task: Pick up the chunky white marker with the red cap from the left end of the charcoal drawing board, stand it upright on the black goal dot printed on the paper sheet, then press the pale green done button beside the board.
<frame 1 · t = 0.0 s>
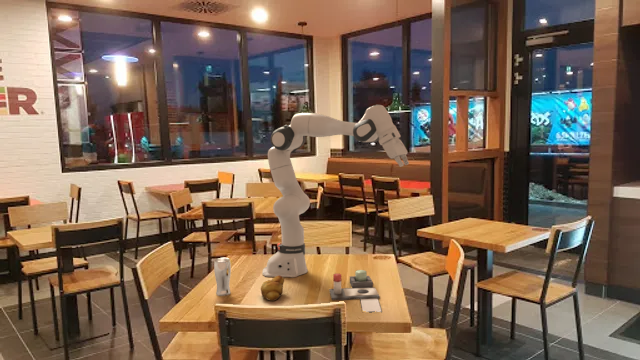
hand: (404, 165, 199), 54 cm above the table, tool tilted 30°, fingers open, 8 cm apart
button base: (361, 285, 205), on the table
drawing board: (353, 294, 194), on the table
marker: (337, 293, 193), point 1 cm above the table, touching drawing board
bread roll: (271, 297, 193), on the table
smartphone: (370, 306, 183), on the table
beer glass: (223, 294, 197), on the table
done button: (361, 275, 205), point 4 cm above the table, slide at 0.0 cm
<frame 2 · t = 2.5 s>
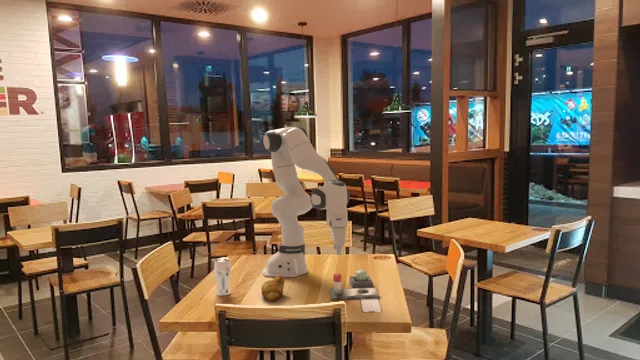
hand: (337, 251, 192), 19 cm above the table, tool pointing down, fingers open, 8 cm apart
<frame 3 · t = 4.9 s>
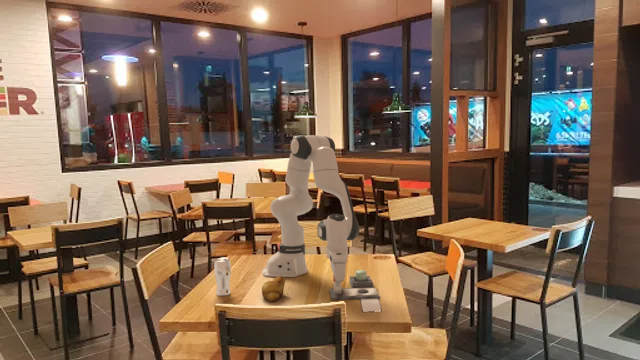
hand: (337, 284, 193), 5 cm above the table, tool pointing down, fingers closed on marker, 3 cm apart
marker: (337, 293, 193), point 1 cm above the table, touching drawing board, gripper
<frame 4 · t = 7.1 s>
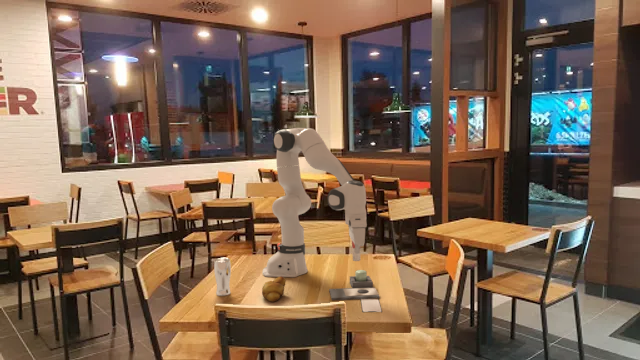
hand: (356, 251, 192), 19 cm above the table, tool pointing down, fingers closed on marker, 3 cm apart
marker: (356, 260, 192), point 15 cm above the table, touching gripper
when the fingers open (6 cm above the table, at t = 9.5 s): marker stays where it is, resting on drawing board.
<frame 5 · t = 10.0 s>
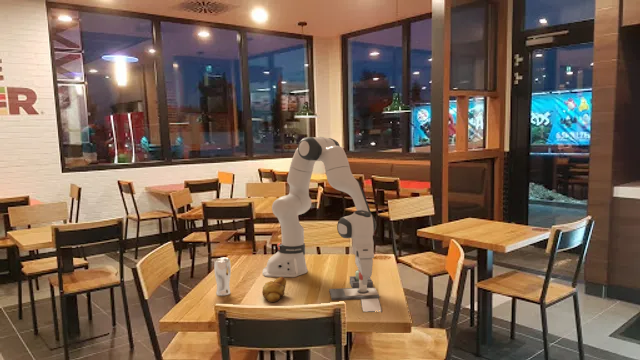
hand: (363, 280, 194), 6 cm above the table, tool pointing down, fingers open, 8 cm apart
marker: (363, 291, 194), point 1 cm above the table, touching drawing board
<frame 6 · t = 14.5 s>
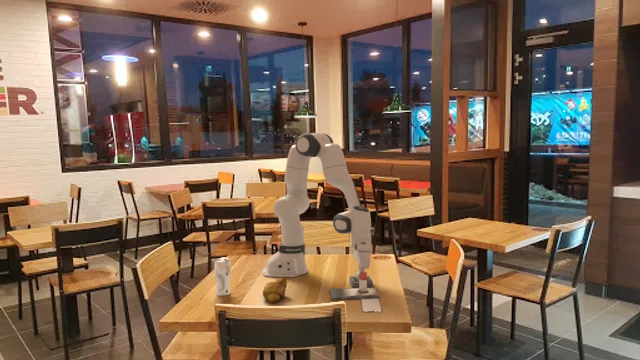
hand: (361, 272, 205), 6 cm above the table, tool pointing down, fingers closed, pressing on done button
done button: (361, 277, 205), point 4 cm above the table, slide at 0.6 cm, touching gripper
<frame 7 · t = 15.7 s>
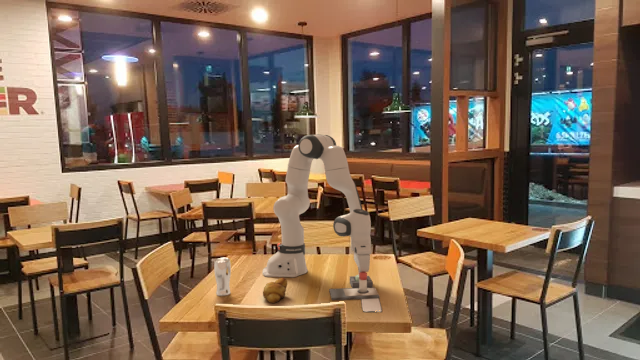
hand: (361, 275, 205), 5 cm above the table, tool pointing down, fingers closed
done button: (361, 280, 205), point 2 cm above the table, slide at 2.1 cm
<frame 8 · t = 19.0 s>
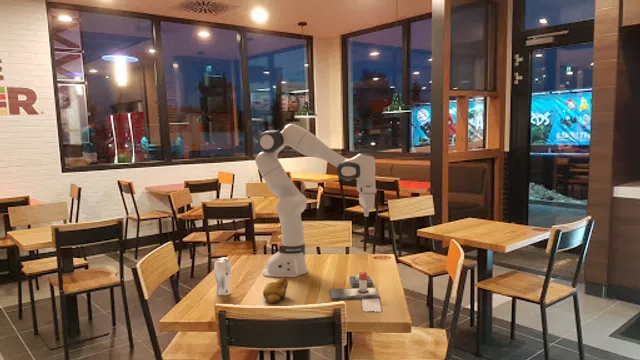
hand: (366, 216, 217), 29 cm above the table, tool pointing down, fingers closed
at the end: marker 0.0 cm from the target spot, point 1.3 cm above the table; marker tilted 0°; done button slide at 2.1 cm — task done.
